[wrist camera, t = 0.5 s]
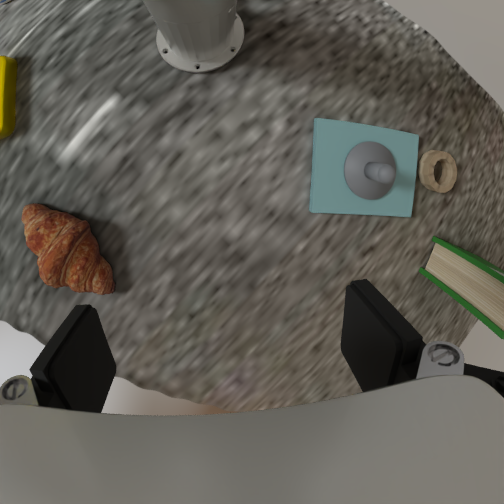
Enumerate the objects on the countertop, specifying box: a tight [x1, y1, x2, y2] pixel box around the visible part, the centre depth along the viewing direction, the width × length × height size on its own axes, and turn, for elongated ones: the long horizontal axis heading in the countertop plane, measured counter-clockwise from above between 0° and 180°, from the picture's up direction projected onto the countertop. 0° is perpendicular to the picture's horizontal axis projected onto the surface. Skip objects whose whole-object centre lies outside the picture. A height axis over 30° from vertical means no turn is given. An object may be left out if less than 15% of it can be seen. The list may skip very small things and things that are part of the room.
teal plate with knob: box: [309, 118, 419, 217], centre depth 40 cm, size 14×18×8 cm
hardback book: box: [419, 236, 504, 339], centre depth 41 cm, size 18×7×24 cm, turn 73°
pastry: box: [22, 203, 116, 295], centre depth 40 cm, size 17×15×8 cm
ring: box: [418, 150, 457, 193], centre depth 44 cm, size 7×7×3 cm
